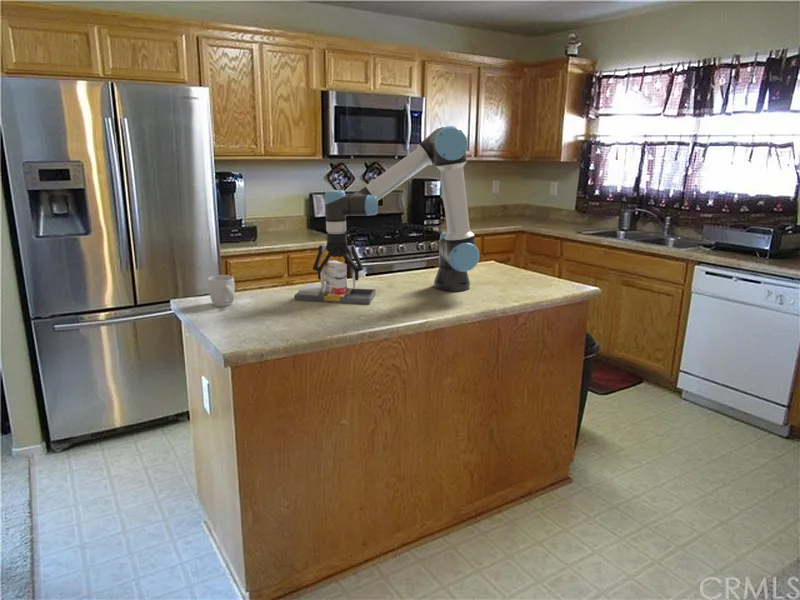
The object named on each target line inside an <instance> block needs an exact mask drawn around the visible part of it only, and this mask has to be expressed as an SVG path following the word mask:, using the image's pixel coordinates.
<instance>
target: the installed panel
mask: <svg viewBox="0 0 800 600" xmlns="http://www.w3.org/2000/svg"><path fill="white" fill-rule="evenodd" d="M325 289H326V283H325V287H324V288H323V289H321V283H306V284H305V285H303V286H302V287H301V288H300V289H298V292H299V295H314V296H320V295H321V294H322V293H323V291H324V290H325Z"/></svg>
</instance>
